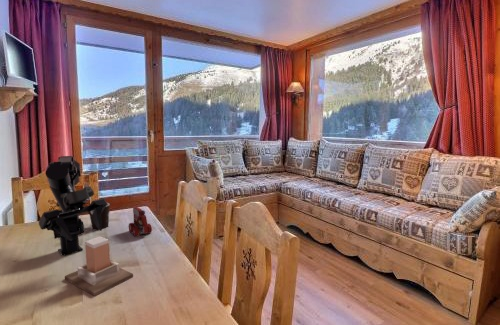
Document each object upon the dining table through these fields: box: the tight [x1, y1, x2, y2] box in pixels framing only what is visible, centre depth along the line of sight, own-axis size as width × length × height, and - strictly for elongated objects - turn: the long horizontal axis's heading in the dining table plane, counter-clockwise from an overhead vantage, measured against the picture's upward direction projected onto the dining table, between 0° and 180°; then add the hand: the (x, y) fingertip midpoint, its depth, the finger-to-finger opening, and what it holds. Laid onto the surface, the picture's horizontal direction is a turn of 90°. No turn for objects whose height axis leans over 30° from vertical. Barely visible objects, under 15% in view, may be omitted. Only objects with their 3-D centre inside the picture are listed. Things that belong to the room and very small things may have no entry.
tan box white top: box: [84, 236, 111, 273], centre depth 88 cm, size 5×5×11 cm
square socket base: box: [64, 259, 134, 297], centre depth 89 cm, size 16×12×4 cm
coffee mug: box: [88, 202, 110, 231], centre depth 131 cm, size 12×9×10 cm
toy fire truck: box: [127, 205, 153, 237], centre depth 124 cm, size 7×12×10 cm, turn 40°
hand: (87, 234), depth 90 cm, fingers open, 9 cm apart
